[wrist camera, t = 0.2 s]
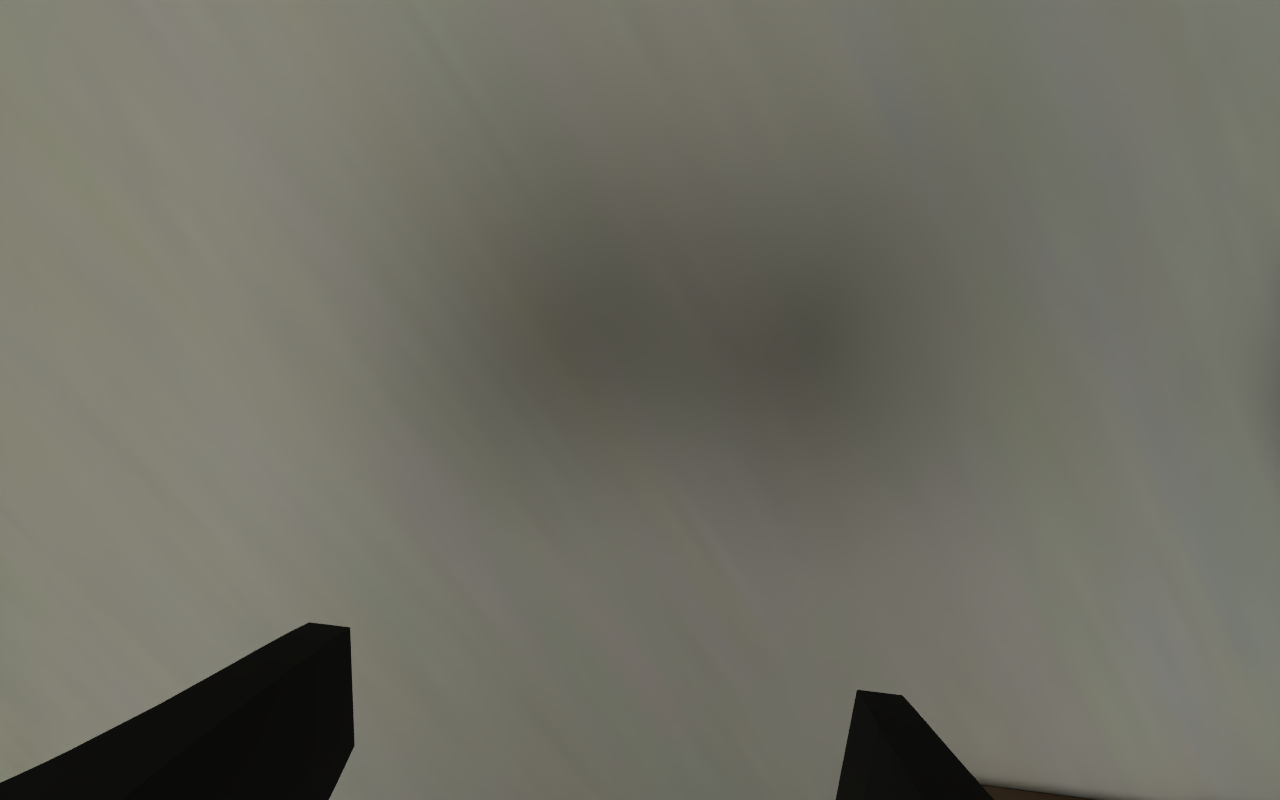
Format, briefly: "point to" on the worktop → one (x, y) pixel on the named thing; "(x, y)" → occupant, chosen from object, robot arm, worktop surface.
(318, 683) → the robot arm
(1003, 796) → the cleat board
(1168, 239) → the worktop surface
